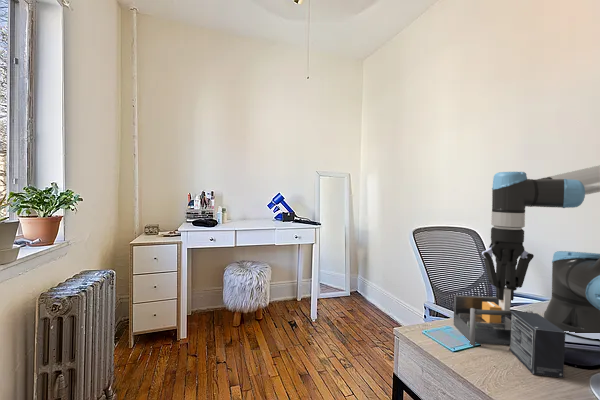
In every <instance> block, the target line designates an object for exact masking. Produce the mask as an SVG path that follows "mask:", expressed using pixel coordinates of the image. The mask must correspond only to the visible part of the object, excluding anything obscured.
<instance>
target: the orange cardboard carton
mask: <svg viewBox="0 0 600 400" xmlns="http://www.w3.org/2000/svg"><path fill="white" fill-rule="evenodd" d="M482 310H501V307H500V306H498V305H497V304H495V303H494V302H482ZM482 319H484V320H485V321H486V322H493V323H501V315H483V314H482Z"/></svg>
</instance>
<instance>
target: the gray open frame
mask: <svg viewBox="0 0 600 400" xmlns="http://www.w3.org/2000/svg"><path fill="white" fill-rule="evenodd" d="M511 311H512V310H510V311H501V310H479V309H474V308H470V342H469V345H470V344H471V345H473V346H472V347H476V343H475V316H476V314H483V315H504V316H506V317H511ZM518 311H519V312H524V311H523V310H522V311H521V310H518ZM526 312H528V313H534V312H533V311H532V310H526ZM471 345H470V346H471Z"/></svg>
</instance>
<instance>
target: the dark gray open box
mask: <svg viewBox="0 0 600 400" xmlns="http://www.w3.org/2000/svg"><path fill="white" fill-rule="evenodd" d="M453 297H454V298H453V326H454V327H455V328H456V329H457V330H458V332H460V333H461V334H462V336H463V335H464V336H465V337H466V338H467V339H468V340H469V341H470V308H474V309H479V310H482V302H494V303H495V304H497V305H498V306H499V299H498V298H497V297H496V296H485V295H484V296H483V295H482V296H481V295H458V294H457V295H453ZM510 335H511V318H509V317H508V316H504V315H501V323H493V322H486V321H485V320H484V319H482V314H476V316H475V342H477V343H476V344H488V345H489V344H490V345H505V346H510ZM464 336H463V337H464ZM465 337H464V338H465ZM466 338H465V339H466ZM467 339H466V340H467ZM468 340H467V341H468ZM469 341H468V342H469Z"/></svg>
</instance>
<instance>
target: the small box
mask: <svg viewBox="0 0 600 400" xmlns="http://www.w3.org/2000/svg"><path fill="white" fill-rule="evenodd" d="M510 311H511V316H510V320H511V335H510V345H509V351H510V352H511V353H512V355H514V357H516V358H517V359H518V361H519V362H520V363H521V364H522V365H523V366H524V367H526V369H527V370H528V371H529V372H530V373H531V374H532V375H538V376H545V377H546V376H547V377H552V378H553V377H554V378H559V379H560V378H563V379H564V377H565V376H564V373H565V372H564V370H565V350H566V348H565V346H566V332H564V331H563V330H561V329H560V328H558V327H557V326H555V325H554V324H552V323H551V322H549V321H548V320H546V319H545V318H544V316H542V315H540V314H538V313H535V312H533V313H528V312H527V311H523V312H519V311H520V310H510Z"/></svg>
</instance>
